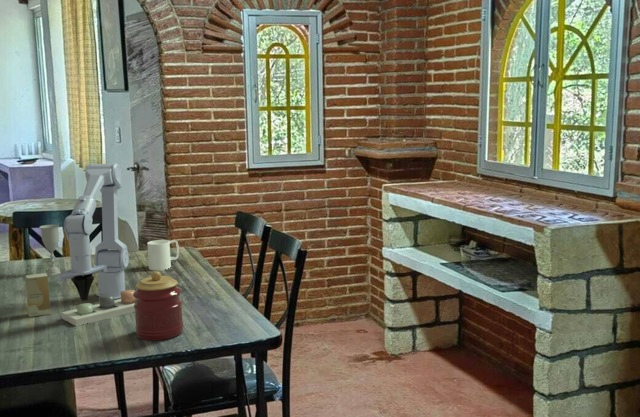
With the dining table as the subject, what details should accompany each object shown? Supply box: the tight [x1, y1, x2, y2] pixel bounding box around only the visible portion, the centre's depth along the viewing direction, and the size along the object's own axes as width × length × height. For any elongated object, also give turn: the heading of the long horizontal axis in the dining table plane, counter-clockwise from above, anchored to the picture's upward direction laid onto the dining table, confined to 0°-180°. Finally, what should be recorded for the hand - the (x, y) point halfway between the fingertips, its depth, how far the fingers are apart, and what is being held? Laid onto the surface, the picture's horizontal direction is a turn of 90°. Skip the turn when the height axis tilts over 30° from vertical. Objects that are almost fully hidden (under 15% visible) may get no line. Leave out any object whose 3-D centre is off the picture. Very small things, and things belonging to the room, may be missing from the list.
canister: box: [133, 270, 184, 341], centre depth 195 cm, size 13×13×18 cm
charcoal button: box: [98, 294, 115, 309], centre depth 215 cm, size 4×4×3 cm
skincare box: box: [25, 272, 51, 318], centre depth 216 cm, size 6×4×12 cm
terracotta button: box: [120, 289, 136, 304], centre depth 220 cm, size 4×4×3 cm
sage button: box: [76, 302, 93, 316], centre depth 211 cm, size 4×4×3 cm
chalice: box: [39, 224, 62, 276], centre depth 265 cm, size 7×7×18 cm
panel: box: [61, 298, 135, 327], centre depth 216 cm, size 10×24×2 cm, turn 132°
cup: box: [147, 239, 180, 272], centre depth 271 cm, size 8×12×10 cm
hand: (84, 299), depth 211 cm, fingers closed
